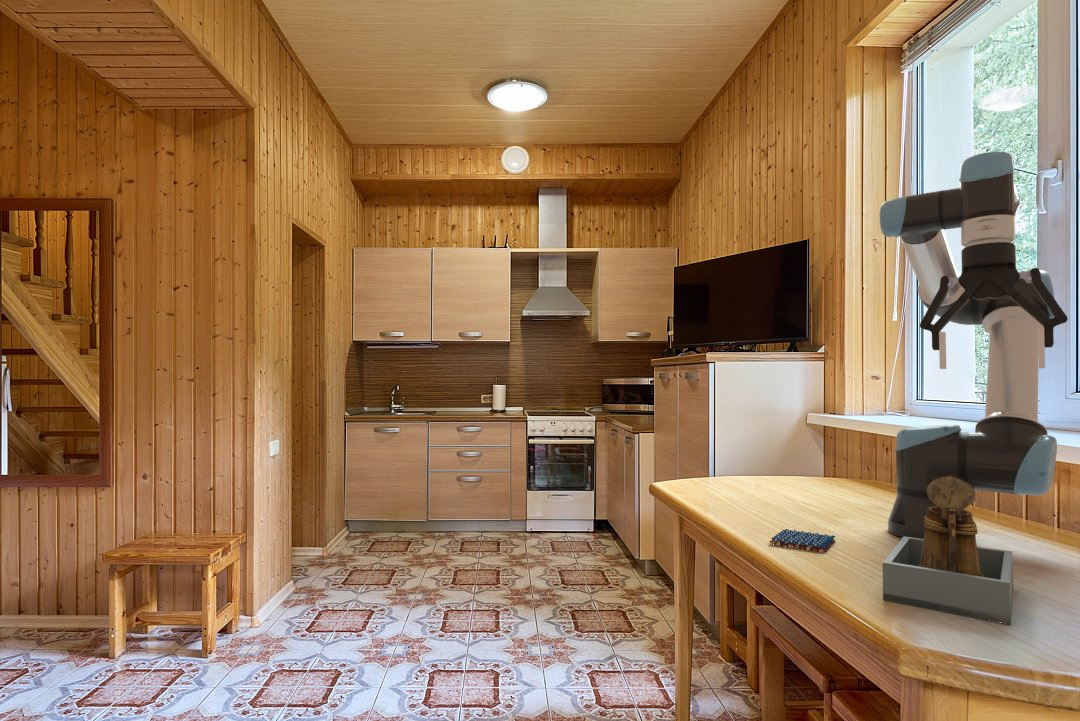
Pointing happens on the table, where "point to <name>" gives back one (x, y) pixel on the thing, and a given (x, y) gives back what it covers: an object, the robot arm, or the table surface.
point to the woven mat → (803, 540)
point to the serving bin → (950, 583)
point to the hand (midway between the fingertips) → (990, 368)
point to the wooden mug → (950, 528)
